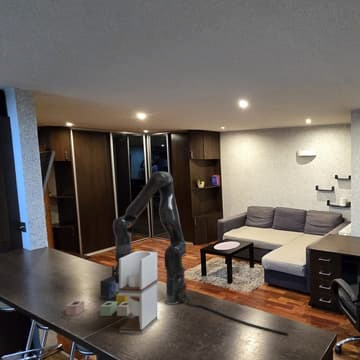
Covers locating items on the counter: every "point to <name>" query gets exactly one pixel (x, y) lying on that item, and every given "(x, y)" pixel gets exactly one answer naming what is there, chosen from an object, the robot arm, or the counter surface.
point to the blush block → (75, 308)
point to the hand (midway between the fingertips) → (123, 279)
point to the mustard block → (121, 299)
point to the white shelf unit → (139, 289)
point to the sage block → (108, 308)
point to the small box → (108, 288)
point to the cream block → (123, 309)
